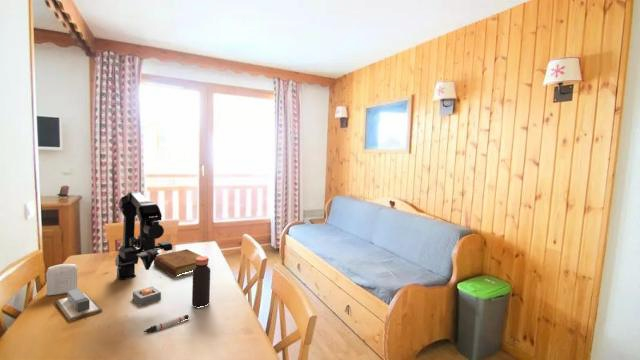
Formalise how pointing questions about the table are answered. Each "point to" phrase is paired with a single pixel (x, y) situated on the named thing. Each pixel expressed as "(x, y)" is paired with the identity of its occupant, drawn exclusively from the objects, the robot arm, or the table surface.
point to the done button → (146, 292)
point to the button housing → (146, 296)
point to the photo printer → (61, 278)
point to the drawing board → (71, 311)
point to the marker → (166, 324)
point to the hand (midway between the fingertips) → (147, 269)
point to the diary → (177, 262)
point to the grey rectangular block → (78, 300)
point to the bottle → (201, 282)
